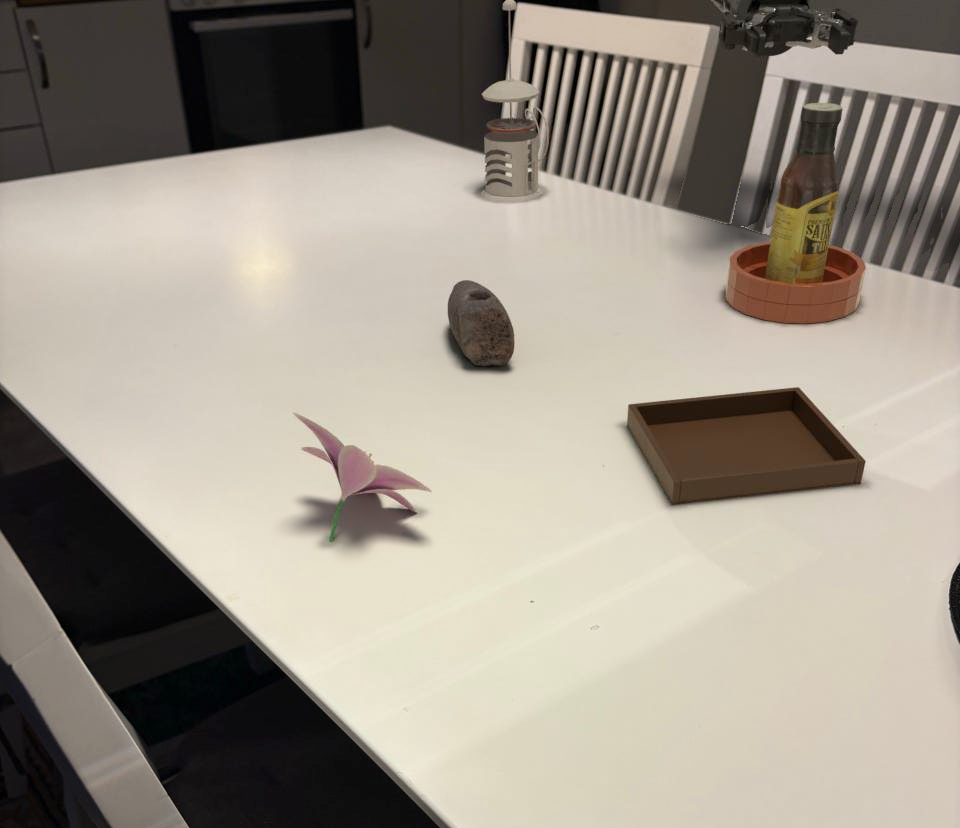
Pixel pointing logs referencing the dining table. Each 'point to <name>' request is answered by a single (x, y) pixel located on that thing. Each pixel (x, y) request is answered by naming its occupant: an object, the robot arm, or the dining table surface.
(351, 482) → the lily
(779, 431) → the tray
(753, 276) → the bowl
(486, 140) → the french press
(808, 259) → the sauce bottle
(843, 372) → the dining table surface
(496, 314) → the perforated stone tool
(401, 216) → the dining table surface
